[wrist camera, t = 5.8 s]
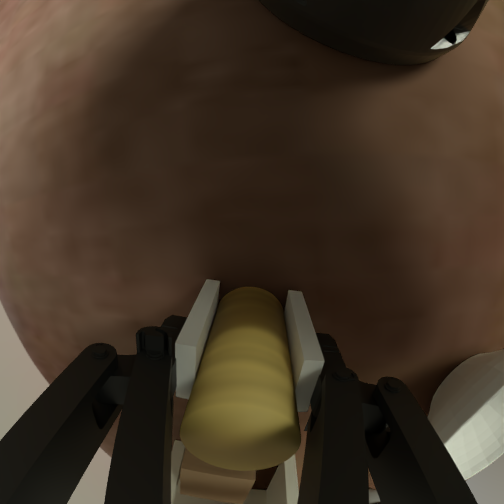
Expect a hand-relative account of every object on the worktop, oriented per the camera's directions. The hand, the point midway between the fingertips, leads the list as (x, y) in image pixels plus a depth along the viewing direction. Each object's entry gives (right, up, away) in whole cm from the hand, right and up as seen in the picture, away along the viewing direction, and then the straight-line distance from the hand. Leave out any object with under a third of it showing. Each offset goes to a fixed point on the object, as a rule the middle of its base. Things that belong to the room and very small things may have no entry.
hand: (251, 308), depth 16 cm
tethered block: (-1, -7, +2) cm, 7 cm away
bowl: (+19, -9, +3) cm, 22 cm away
